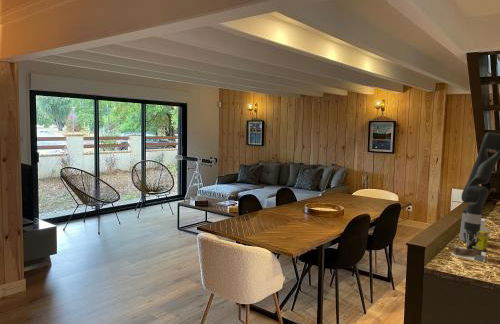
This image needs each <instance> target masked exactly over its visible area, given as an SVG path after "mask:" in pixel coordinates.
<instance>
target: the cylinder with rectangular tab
mask: <svg viewBox="0 0 500 324" xmlns="http://www.w3.org/2000/svg"><path fill="white" fill-rule="evenodd" d="M486 221H487V219H486V218H482V217H481V226H480V230H482V231H486V232H489V233H490V229H489V228H486V227H485V226H486Z"/></svg>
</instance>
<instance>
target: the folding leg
mask: <svg viewBox="0 0 500 324" xmlns="http://www.w3.org/2000/svg"><path fill="white" fill-rule="evenodd" d="M459 247H460V246H457V247H453V251H452V253H454V254H455V255H468V256H475V254H476V255H481V253H482V252H483V251H481V250H478V249H467V248H466V249H465V247H461V248H459Z"/></svg>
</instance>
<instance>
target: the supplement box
mask: <svg viewBox="0 0 500 324" xmlns="http://www.w3.org/2000/svg"><path fill="white" fill-rule="evenodd" d="M489 233H490V231H489V232H486V231H482V230H480V231H479V232H477V237H476V238H477V239H479V241H478V242H477V244H476V245H475V246H472V249H478V250H481V251H482V252H485V251H487V248H488V242H489Z"/></svg>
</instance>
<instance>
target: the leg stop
mask: <svg viewBox="0 0 500 324" xmlns="http://www.w3.org/2000/svg"><path fill="white" fill-rule="evenodd" d="M476 260H477V262H480V261H482V262H481V263H484V262H483V260H484V256H481V255H476V254H475V258H474V260H473V261H476Z"/></svg>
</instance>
